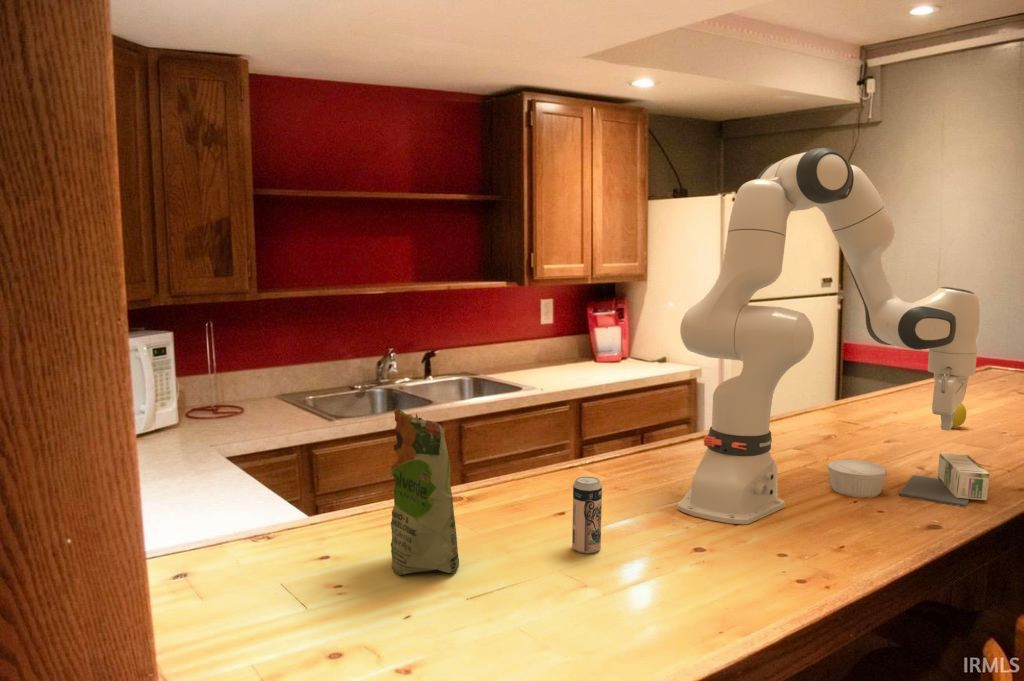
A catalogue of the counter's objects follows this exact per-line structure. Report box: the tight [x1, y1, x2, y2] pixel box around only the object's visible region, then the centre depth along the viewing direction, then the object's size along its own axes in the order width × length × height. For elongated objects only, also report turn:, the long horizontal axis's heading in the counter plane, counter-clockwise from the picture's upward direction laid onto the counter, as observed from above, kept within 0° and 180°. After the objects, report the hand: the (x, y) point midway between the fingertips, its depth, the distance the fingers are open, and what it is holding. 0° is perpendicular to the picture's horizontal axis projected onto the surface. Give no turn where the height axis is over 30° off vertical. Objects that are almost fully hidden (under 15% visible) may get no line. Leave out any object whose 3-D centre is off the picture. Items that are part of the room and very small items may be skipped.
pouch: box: [390, 407, 460, 576], centre depth 124 cm, size 11×12×25 cm
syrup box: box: [937, 452, 991, 501], centre depth 166 cm, size 6×6×14 cm
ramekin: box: [827, 459, 888, 498], centre depth 166 cm, size 11×11×5 cm
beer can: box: [571, 475, 603, 555], centre depth 133 cm, size 5×5×12 cm
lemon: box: [952, 403, 967, 429], centre depth 222 cm, size 6×6×8 cm
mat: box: [898, 474, 970, 507], centre depth 167 cm, size 16×12×1 cm
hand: (946, 429), depth 170 cm, fingers closed
